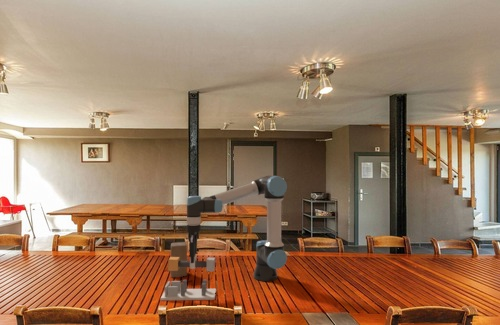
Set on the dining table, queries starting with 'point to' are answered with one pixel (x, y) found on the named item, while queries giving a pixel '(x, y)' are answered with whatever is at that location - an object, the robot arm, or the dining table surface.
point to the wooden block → (180, 251)
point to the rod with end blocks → (176, 263)
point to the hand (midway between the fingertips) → (193, 267)
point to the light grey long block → (187, 292)
